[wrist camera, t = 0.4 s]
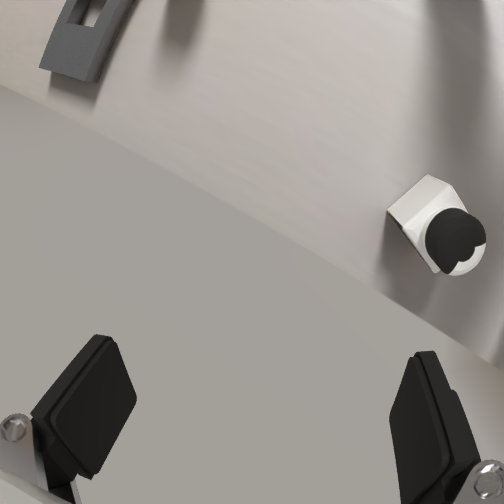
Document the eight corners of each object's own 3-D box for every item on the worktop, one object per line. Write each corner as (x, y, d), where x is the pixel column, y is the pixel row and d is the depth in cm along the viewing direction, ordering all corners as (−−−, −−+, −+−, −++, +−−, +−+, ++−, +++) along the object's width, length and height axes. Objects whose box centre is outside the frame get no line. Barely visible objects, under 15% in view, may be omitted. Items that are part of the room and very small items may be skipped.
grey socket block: (107, -46, 26) (96, -53, 23) (160, -43, 26) (151, -52, 23) (51, 68, 34) (38, 67, 31) (97, 82, 34) (84, 81, 31)
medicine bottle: (385, 209, 36) (417, 246, 25) (426, 172, 33) (474, 195, 22) (416, 250, 37) (452, 298, 26) (455, 216, 34) (503, 251, 23)
